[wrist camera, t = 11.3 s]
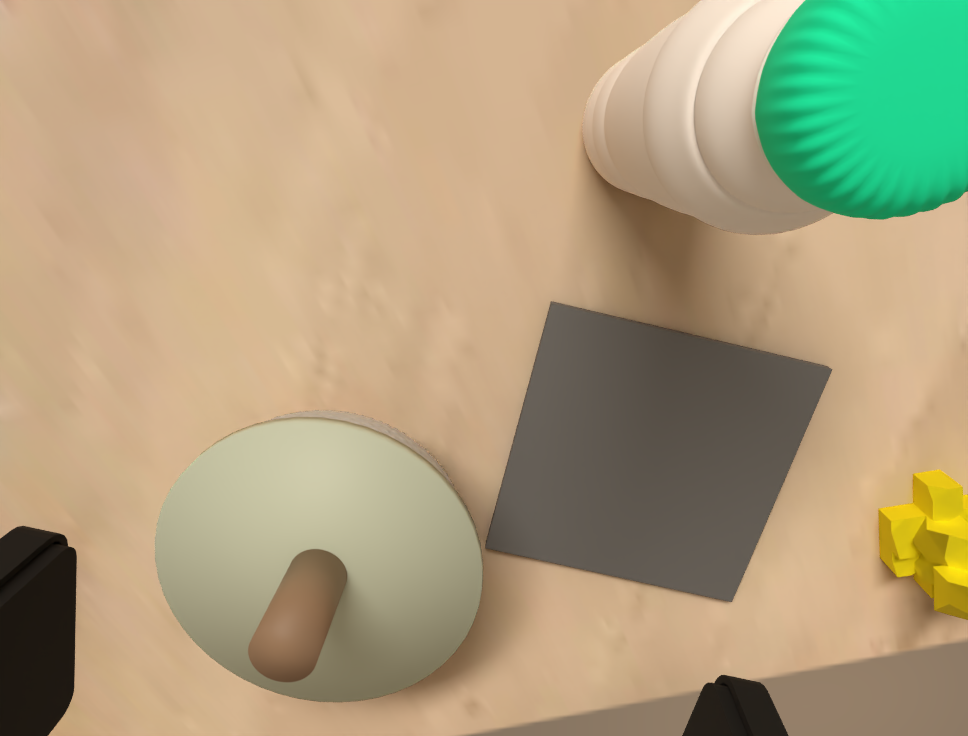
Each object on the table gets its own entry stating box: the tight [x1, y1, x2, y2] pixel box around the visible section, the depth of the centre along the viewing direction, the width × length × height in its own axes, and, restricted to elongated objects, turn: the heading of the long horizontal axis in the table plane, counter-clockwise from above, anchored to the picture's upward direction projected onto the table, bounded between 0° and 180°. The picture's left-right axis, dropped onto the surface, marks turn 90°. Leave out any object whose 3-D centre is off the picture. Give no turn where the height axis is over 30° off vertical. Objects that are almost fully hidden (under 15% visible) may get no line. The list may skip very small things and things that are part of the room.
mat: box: [485, 301, 832, 602], centre depth 41 cm, size 17×17×1 cm
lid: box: [155, 417, 483, 702], centre depth 33 cm, size 18×18×7 cm
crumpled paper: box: [879, 470, 968, 620], centre depth 39 cm, size 6×8×8 cm
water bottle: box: [582, 0, 968, 235], centre depth 23 cm, size 7×7×25 cm
